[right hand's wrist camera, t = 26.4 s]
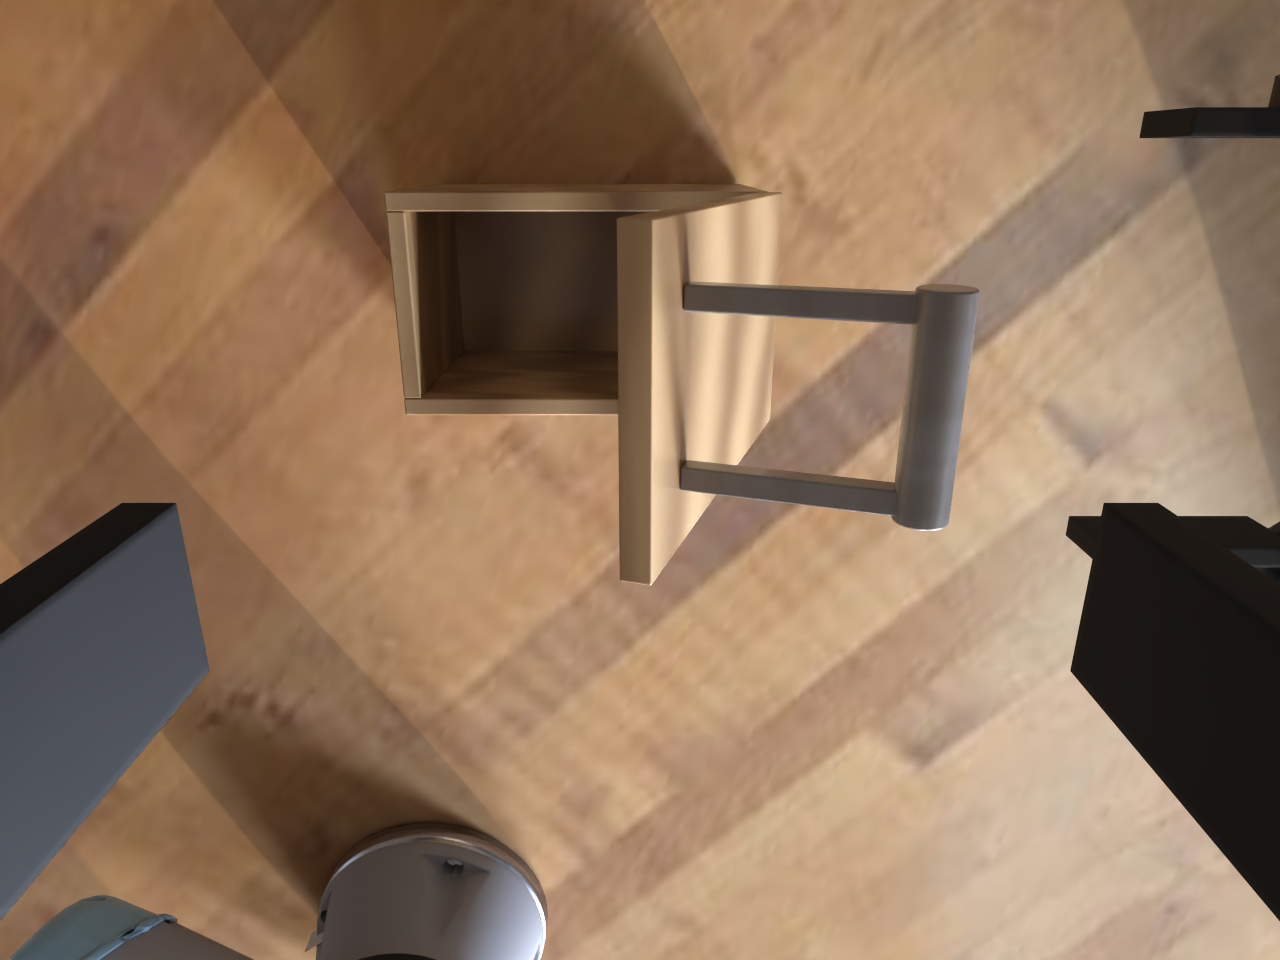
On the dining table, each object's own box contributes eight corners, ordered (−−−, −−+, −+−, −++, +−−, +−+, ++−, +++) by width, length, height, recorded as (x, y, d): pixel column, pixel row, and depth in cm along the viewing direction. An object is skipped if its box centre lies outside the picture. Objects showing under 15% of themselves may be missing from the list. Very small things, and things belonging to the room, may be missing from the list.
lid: (619, 581, 23) (939, 631, 20) (615, 218, 20) (994, 226, 17) (749, 417, 37) (946, 436, 34) (759, 191, 34) (977, 194, 31)
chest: (454, 361, 47) (405, 415, 37) (441, 183, 44) (383, 191, 34) (734, 361, 47) (758, 415, 37) (740, 183, 44) (769, 191, 34)
